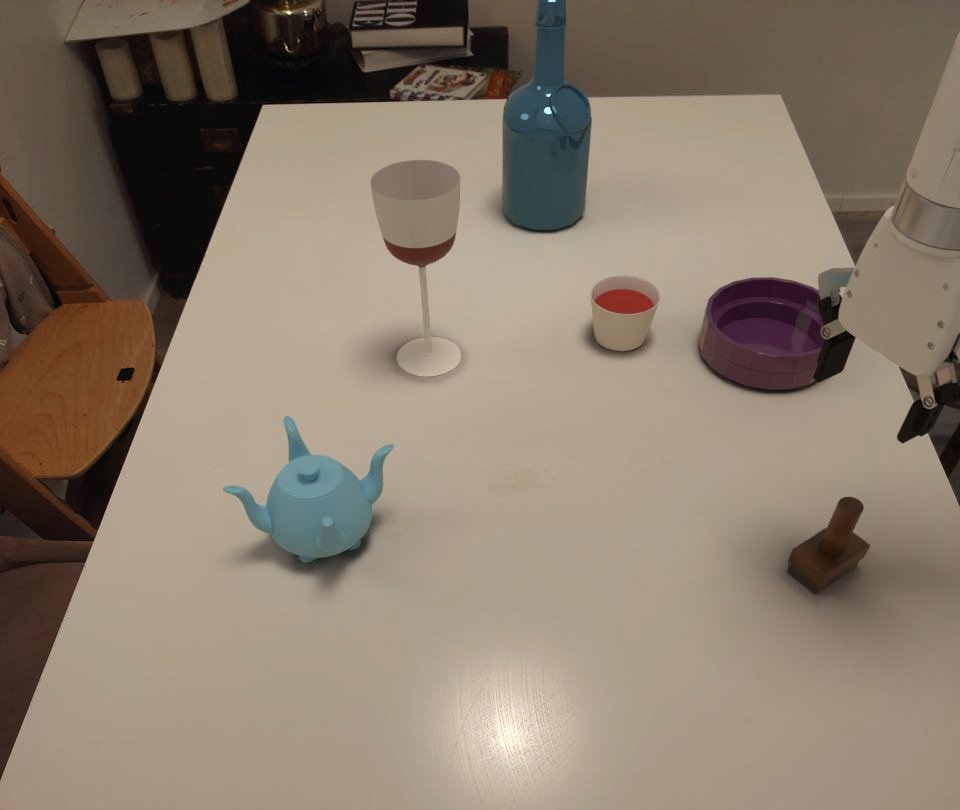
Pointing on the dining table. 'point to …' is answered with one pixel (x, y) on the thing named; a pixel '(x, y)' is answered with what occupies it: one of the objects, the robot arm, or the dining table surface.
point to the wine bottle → (546, 135)
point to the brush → (830, 549)
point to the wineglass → (420, 242)
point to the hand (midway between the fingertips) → (867, 404)
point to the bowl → (763, 333)
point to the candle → (623, 311)
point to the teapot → (316, 501)
